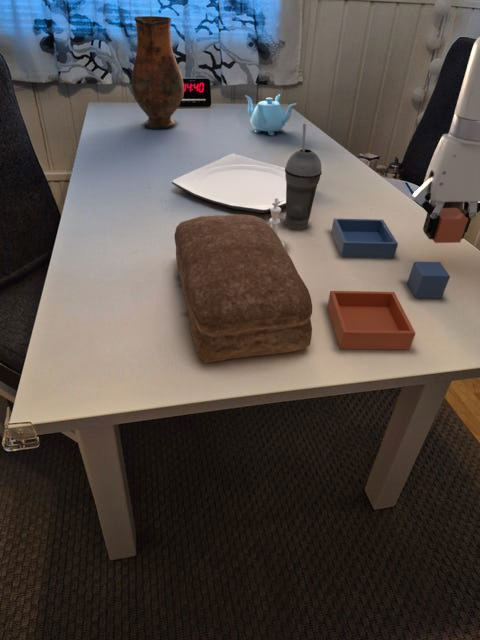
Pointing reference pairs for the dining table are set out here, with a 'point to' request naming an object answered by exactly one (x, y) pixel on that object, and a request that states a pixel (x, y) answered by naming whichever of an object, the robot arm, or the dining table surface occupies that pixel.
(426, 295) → the slate block
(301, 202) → the beverage cup
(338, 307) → the terracotta bin
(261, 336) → the bread
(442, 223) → the terracotta block
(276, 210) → the chess piece
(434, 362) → the dining table surface
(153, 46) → the brown vase
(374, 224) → the slate bin
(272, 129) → the teapot
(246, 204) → the plate
